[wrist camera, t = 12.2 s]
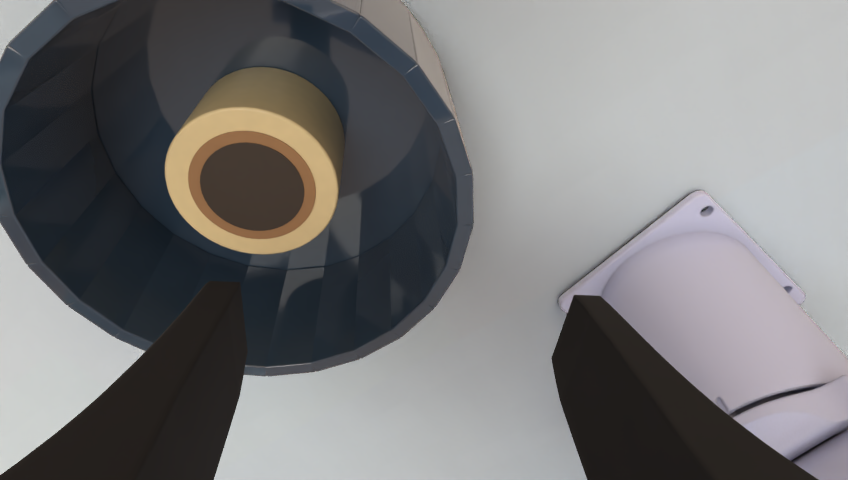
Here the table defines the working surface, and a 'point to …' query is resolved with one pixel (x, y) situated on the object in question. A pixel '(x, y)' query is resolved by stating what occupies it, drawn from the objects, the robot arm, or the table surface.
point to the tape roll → (258, 162)
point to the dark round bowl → (165, 115)
